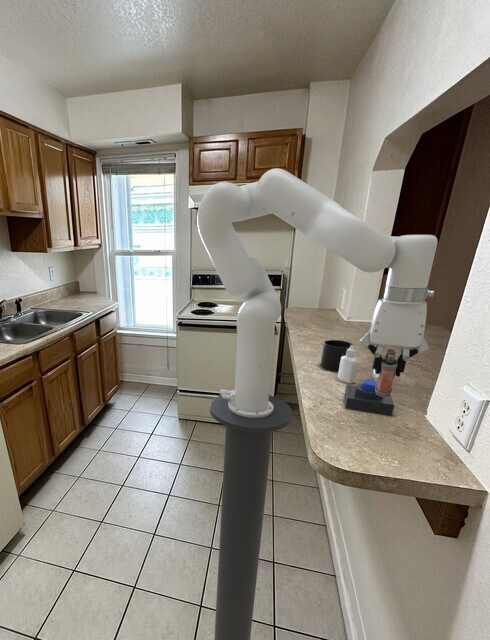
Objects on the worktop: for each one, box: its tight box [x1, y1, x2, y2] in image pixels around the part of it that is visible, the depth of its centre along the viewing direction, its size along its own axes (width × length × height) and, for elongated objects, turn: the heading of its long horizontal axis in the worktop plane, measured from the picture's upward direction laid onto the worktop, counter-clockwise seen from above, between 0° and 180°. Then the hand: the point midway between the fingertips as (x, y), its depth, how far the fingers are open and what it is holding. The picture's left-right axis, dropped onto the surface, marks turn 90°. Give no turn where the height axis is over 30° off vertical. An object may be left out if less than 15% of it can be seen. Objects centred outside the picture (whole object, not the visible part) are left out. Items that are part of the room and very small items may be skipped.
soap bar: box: [372, 369, 379, 382], centre depth 117 cm, size 5×9×3 cm, turn 152°
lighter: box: [375, 347, 398, 397], centre depth 83 cm, size 8×3×10 cm, turn 151°
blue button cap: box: [361, 379, 377, 392], centre depth 97 cm, size 4×4×2 cm
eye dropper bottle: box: [337, 344, 359, 385], centre depth 113 cm, size 4×6×12 cm
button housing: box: [344, 383, 395, 416], centre depth 98 cm, size 11×10×5 cm
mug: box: [320, 339, 354, 373], centre depth 124 cm, size 9×12×9 cm
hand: (386, 372), depth 83 cm, fingers closed on lighter, 3 cm apart
